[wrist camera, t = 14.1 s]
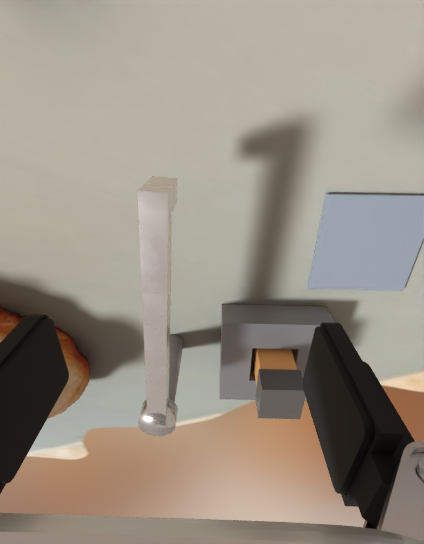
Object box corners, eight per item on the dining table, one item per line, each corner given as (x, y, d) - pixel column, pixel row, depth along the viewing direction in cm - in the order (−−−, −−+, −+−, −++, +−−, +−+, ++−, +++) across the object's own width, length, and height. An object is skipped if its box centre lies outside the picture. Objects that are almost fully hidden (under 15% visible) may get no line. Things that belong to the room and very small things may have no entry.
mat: (436, 195, 32) (439, 196, 31) (401, 288, 37) (403, 290, 37) (326, 193, 32) (327, 194, 31) (307, 286, 37) (308, 288, 37)
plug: (288, 331, 41) (306, 390, 32) (283, 357, 43) (299, 419, 35) (252, 330, 41) (262, 389, 32) (250, 356, 44) (258, 417, 35)
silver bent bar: (140, 175, 24) (122, 189, 19) (189, 179, 24) (182, 194, 19) (148, 396, 37) (139, 434, 32) (180, 398, 37) (175, 437, 32)
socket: (326, 306, 39) (359, 366, 30) (308, 379, 46) (331, 446, 36) (159, 303, 39) (140, 361, 30) (166, 375, 46) (152, 442, 37)
